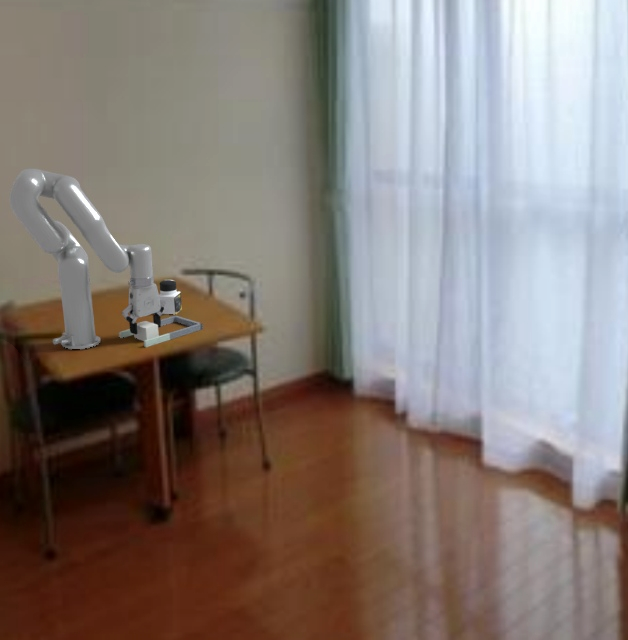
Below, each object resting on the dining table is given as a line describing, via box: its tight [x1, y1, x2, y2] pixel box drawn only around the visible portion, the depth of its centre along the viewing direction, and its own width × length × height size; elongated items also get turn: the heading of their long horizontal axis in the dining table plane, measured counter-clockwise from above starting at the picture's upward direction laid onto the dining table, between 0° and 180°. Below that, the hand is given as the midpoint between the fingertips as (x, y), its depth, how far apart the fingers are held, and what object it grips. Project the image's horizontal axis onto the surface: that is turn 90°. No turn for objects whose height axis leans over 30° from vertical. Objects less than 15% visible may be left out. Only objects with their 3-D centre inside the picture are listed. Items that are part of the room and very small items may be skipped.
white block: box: [133, 320, 160, 342], centre depth 287 cm, size 5×7×5 cm
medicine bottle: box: [159, 279, 183, 316], centre depth 315 cm, size 7×7×12 cm
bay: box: [118, 314, 204, 348], centre depth 292 cm, size 24×15×2 cm, turn 137°
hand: (145, 330), depth 287 cm, fingers open, 9 cm apart
